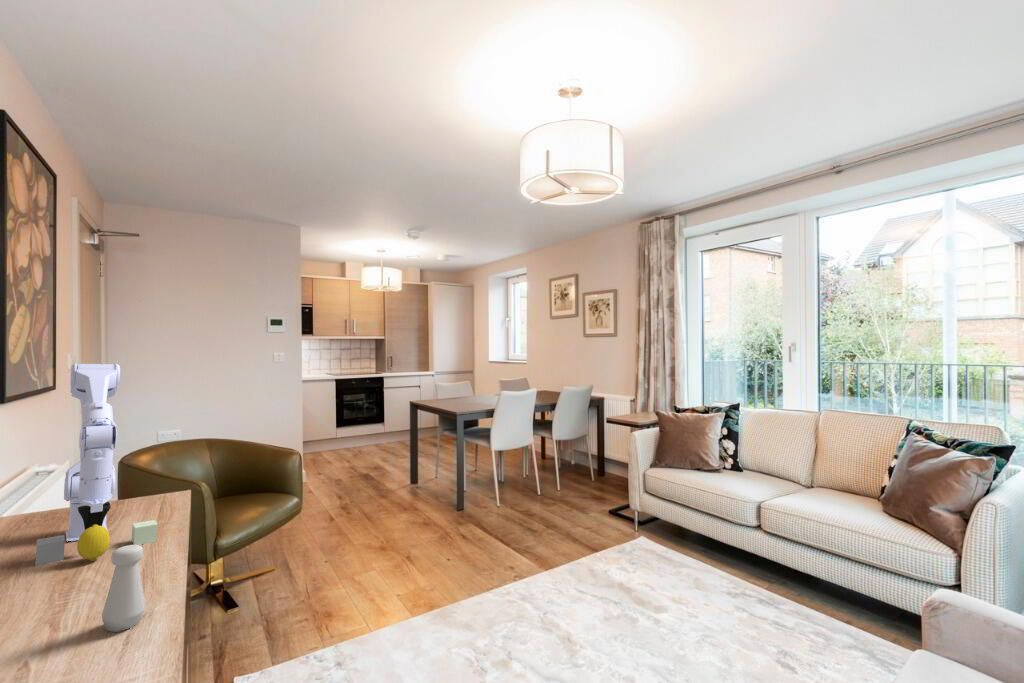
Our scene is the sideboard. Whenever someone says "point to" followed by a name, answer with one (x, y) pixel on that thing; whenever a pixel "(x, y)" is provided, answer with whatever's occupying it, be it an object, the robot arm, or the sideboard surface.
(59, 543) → the slate block
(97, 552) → the lemon
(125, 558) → the salt shaker
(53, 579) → the sideboard surface
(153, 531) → the sage block
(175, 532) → the sideboard surface
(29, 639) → the sideboard surface
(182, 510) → the sideboard surface
